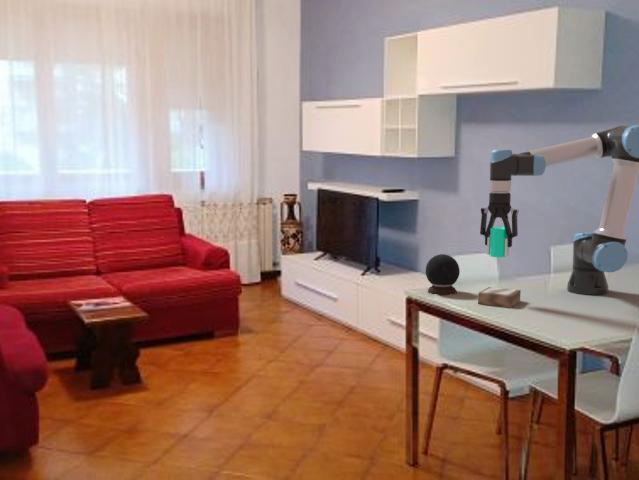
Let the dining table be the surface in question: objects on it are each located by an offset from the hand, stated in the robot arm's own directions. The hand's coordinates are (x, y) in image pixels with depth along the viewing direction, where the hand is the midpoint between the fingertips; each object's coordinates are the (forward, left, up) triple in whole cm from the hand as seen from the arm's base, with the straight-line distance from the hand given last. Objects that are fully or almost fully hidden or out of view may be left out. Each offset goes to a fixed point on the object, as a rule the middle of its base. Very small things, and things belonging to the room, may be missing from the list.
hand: (497, 254), depth 264 cm
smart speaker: (+23, -5, -17) cm, 30 cm away
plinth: (-2, +2, -17) cm, 17 cm away
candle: (0, 0, -1) cm, 1 cm away
